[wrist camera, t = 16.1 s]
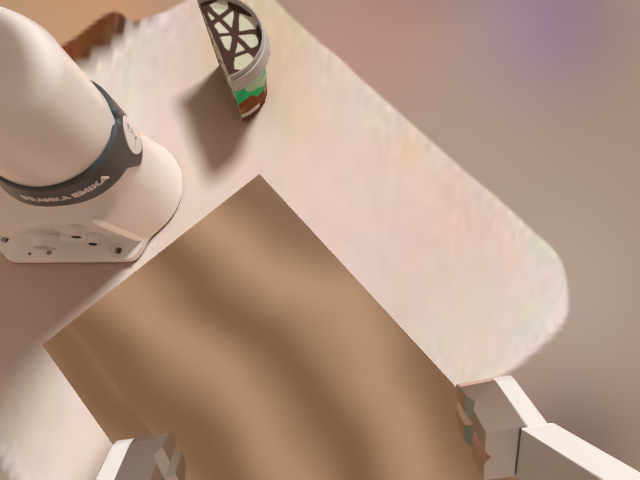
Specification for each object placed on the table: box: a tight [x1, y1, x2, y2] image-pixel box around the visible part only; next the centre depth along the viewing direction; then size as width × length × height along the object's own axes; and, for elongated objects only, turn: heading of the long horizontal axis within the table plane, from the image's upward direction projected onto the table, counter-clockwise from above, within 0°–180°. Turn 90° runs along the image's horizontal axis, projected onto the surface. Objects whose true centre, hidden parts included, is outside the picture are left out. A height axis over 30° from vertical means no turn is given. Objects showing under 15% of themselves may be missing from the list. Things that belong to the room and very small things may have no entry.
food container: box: [197, 0, 270, 121], centre depth 46 cm, size 12×6×10 cm, turn 23°
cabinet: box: [43, 174, 518, 480], centre depth 31 cm, size 16×26×22 cm, turn 42°
